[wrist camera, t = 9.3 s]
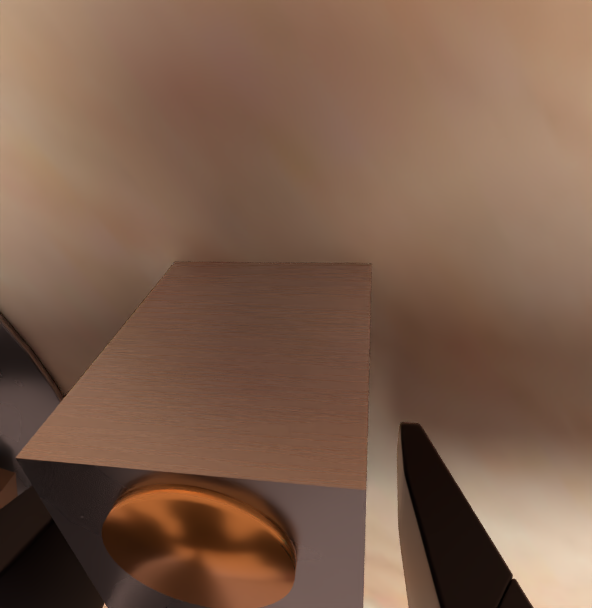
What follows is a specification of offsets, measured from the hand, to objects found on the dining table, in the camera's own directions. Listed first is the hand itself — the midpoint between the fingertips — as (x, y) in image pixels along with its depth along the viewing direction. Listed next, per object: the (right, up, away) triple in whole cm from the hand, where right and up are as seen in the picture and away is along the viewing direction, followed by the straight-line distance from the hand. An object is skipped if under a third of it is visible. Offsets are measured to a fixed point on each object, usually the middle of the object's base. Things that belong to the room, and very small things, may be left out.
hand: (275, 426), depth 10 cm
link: (0, +1, +1) cm, 1 cm away
